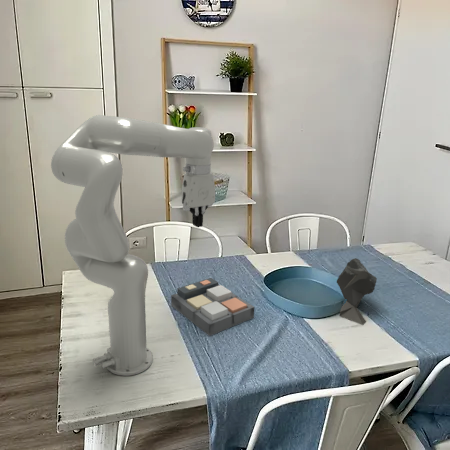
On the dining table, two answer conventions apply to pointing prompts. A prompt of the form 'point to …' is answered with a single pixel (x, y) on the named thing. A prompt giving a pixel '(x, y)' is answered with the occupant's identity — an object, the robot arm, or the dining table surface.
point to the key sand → (198, 301)
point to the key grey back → (219, 293)
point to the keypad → (195, 315)
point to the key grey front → (214, 311)
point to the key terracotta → (234, 305)
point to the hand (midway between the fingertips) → (197, 225)
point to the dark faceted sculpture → (355, 289)
